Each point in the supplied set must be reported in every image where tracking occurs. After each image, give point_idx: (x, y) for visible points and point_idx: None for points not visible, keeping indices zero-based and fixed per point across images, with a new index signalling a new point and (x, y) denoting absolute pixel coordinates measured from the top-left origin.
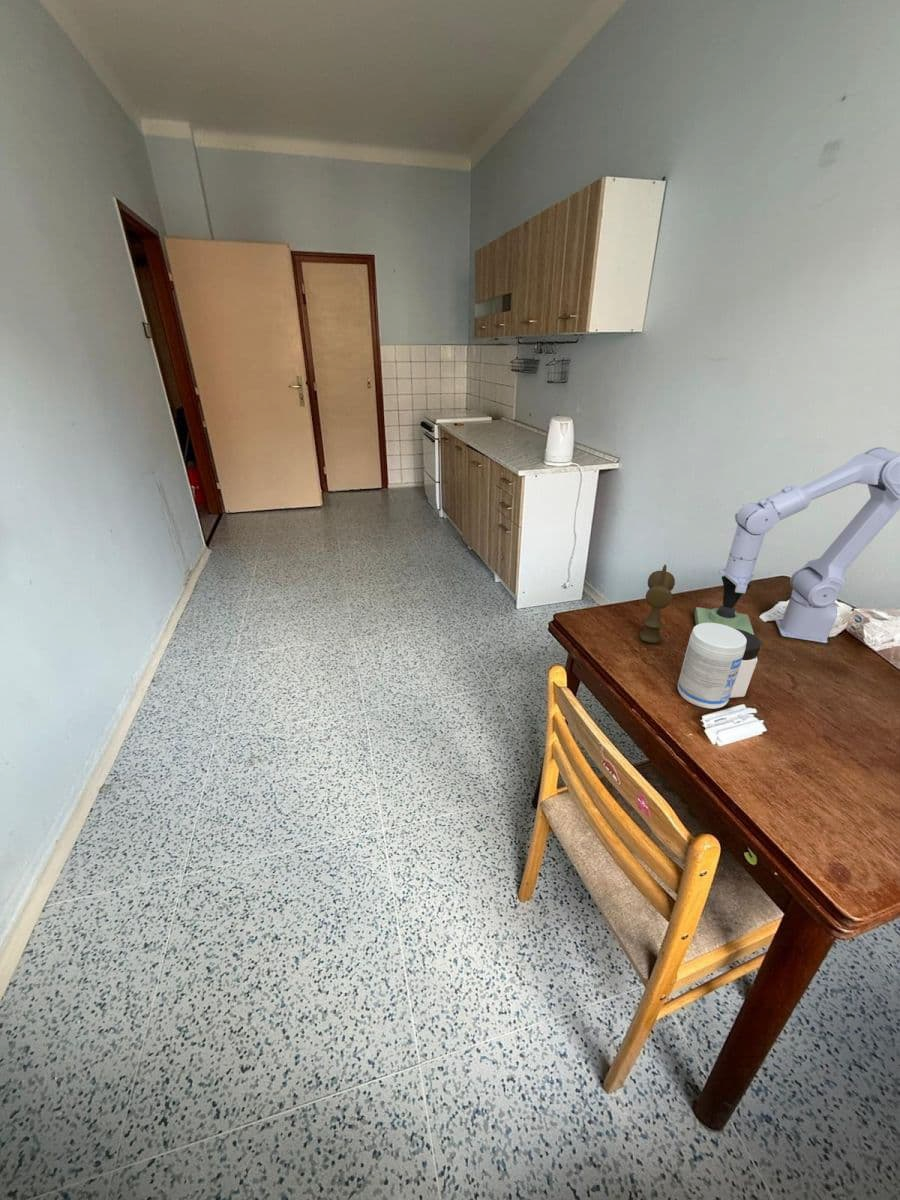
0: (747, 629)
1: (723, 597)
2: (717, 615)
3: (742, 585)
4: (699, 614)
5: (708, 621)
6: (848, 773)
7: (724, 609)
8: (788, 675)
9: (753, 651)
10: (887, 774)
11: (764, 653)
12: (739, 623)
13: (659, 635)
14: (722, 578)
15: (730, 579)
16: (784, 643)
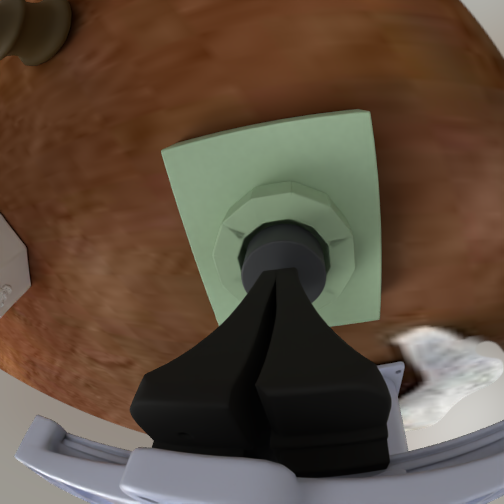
0: None
1: (280, 292)
2: (240, 228)
3: (34, 471)
4: (284, 132)
5: (228, 182)
6: (10, 362)
7: (271, 267)
8: (126, 362)
9: None
10: (37, 389)
11: (183, 337)
12: None
13: (38, 54)
14: (286, 396)
15: (72, 468)
16: None
